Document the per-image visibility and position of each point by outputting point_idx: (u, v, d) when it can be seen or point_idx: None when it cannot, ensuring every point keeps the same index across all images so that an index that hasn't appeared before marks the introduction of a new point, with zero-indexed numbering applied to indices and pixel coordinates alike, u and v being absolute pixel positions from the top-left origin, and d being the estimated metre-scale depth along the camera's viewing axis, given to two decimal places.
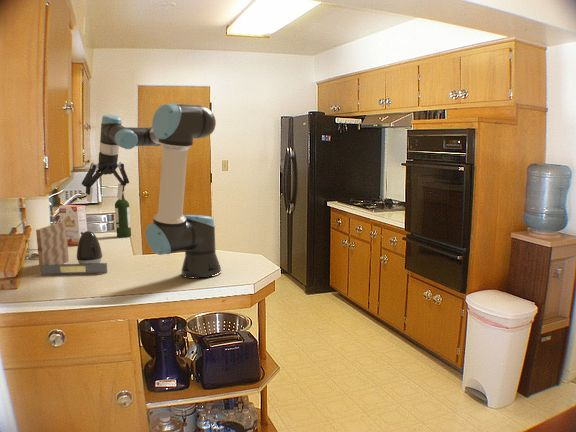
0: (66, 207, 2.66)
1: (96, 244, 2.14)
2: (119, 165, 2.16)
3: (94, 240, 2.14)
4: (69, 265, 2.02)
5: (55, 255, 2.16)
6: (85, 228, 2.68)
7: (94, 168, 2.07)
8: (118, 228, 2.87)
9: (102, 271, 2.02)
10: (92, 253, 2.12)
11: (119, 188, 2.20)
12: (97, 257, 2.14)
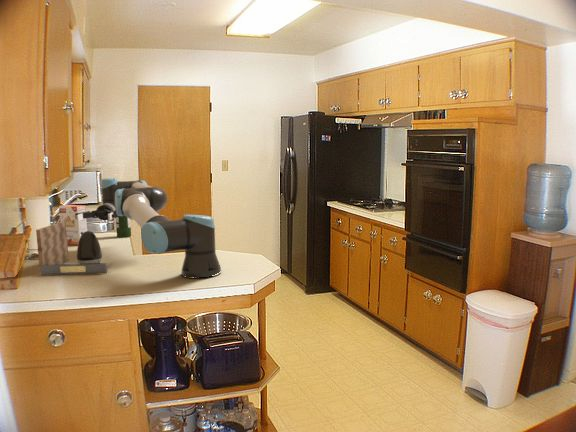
0: (66, 207, 2.66)
1: (96, 244, 2.14)
2: (113, 212, 2.40)
3: (94, 240, 2.14)
4: (69, 265, 2.02)
5: (55, 255, 2.16)
6: (85, 228, 2.68)
7: (88, 211, 2.38)
8: (118, 228, 2.87)
9: (102, 271, 2.02)
10: (92, 253, 2.12)
11: None
12: (97, 257, 2.14)
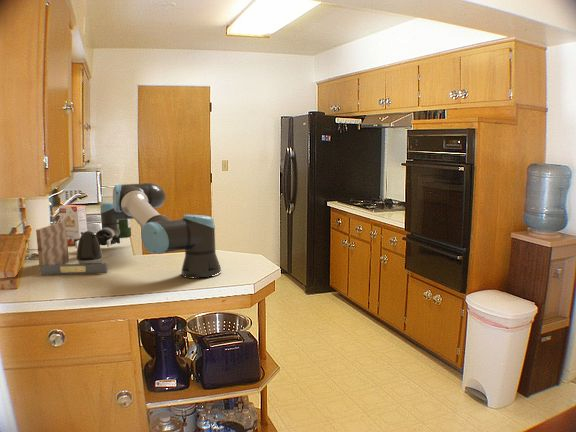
0: (66, 207, 2.66)
1: (96, 244, 2.14)
2: (112, 237, 2.38)
3: (94, 240, 2.14)
4: (69, 265, 2.02)
5: (55, 255, 2.16)
6: (85, 228, 2.68)
7: None
8: None
9: (102, 271, 2.02)
10: (92, 253, 2.12)
11: None
12: (97, 257, 2.14)
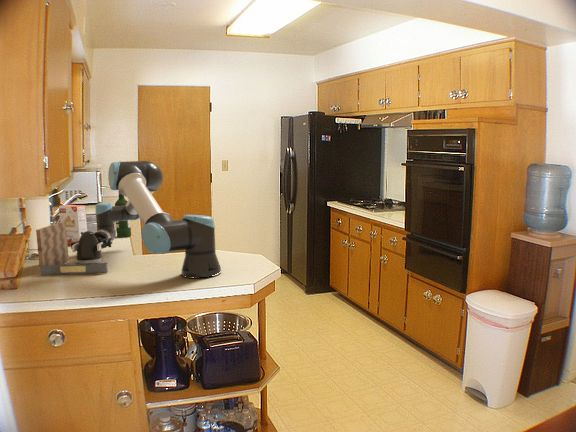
0: (66, 207, 2.66)
1: (96, 244, 2.14)
2: (108, 240, 2.28)
3: (94, 240, 2.14)
4: (69, 265, 2.02)
5: (55, 255, 2.16)
6: (85, 228, 2.68)
7: None
8: (118, 228, 2.87)
9: (102, 271, 2.02)
10: (92, 253, 2.12)
11: None
12: (97, 257, 2.13)
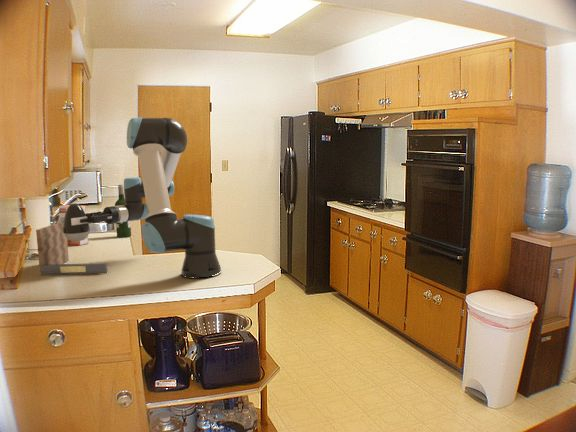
0: (66, 207, 2.66)
1: None
2: None
3: (74, 213, 2.04)
4: (69, 265, 2.02)
5: (55, 255, 2.16)
6: None
7: None
8: (118, 228, 2.87)
9: (102, 271, 2.02)
10: (69, 226, 2.03)
11: None
12: (74, 231, 2.04)
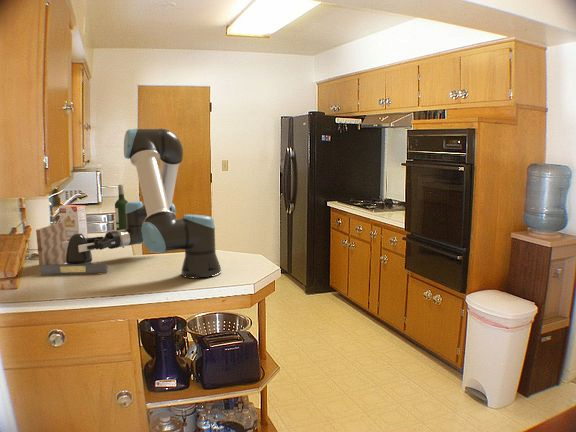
0: (66, 207, 2.66)
1: None
2: None
3: (77, 244, 2.06)
4: (69, 265, 2.02)
5: (55, 255, 2.16)
6: (85, 228, 2.68)
7: None
8: (118, 228, 2.87)
9: (102, 271, 2.02)
10: (72, 257, 2.05)
11: None
12: (77, 262, 2.05)
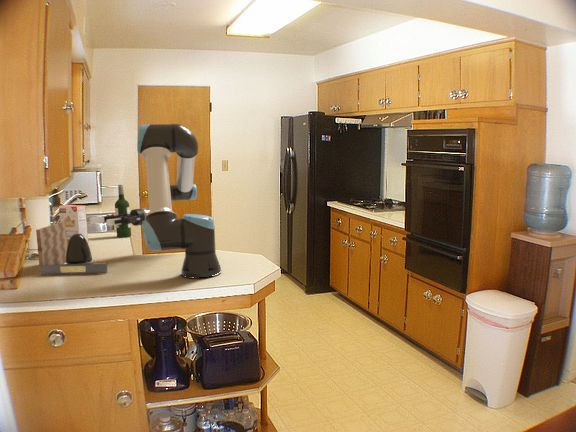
0: (66, 207, 2.66)
1: (78, 248, 2.06)
2: None
3: (77, 243, 2.06)
4: (69, 265, 2.02)
5: (55, 255, 2.16)
6: (85, 228, 2.68)
7: (121, 215, 2.32)
8: (118, 228, 2.87)
9: (102, 271, 2.02)
10: (72, 257, 2.05)
11: None
12: (77, 262, 2.05)
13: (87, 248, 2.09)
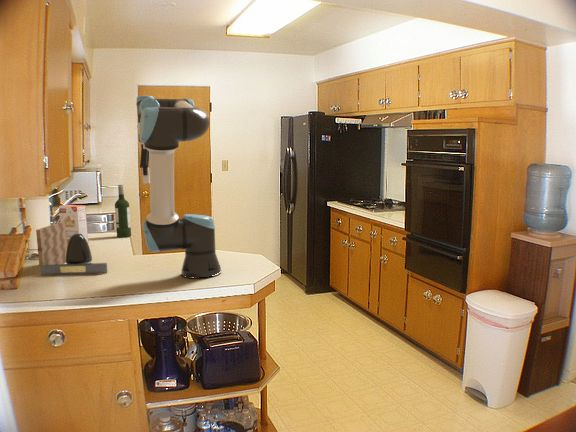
0: (66, 207, 2.66)
1: (78, 248, 2.06)
2: None
3: (77, 244, 2.06)
4: (69, 265, 2.02)
5: (55, 255, 2.16)
6: (85, 228, 2.68)
7: None
8: (118, 228, 2.87)
9: (102, 271, 2.02)
10: (72, 257, 2.05)
11: None
12: (77, 262, 2.05)
13: (87, 248, 2.09)
